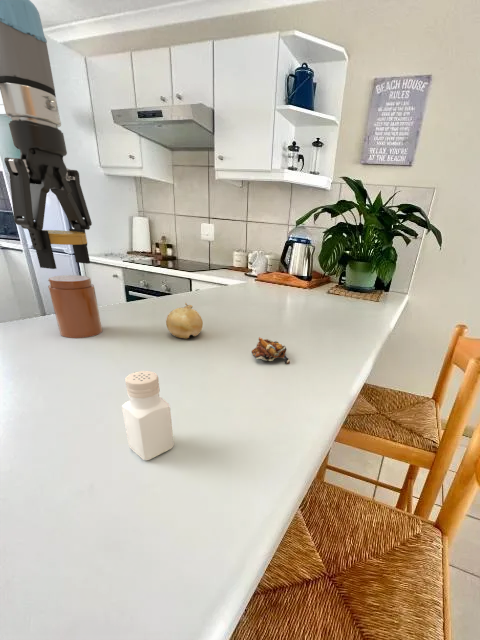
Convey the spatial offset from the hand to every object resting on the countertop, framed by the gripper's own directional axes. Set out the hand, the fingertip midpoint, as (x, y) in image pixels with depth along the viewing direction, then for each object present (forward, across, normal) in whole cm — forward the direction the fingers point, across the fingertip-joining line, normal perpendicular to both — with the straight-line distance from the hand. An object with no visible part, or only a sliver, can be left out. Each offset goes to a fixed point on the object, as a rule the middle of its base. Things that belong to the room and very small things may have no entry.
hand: (66, 265), depth 65 cm
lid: (-6, 0, 0) cm, 6 cm away
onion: (+14, +6, -22) cm, 26 cm away
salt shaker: (+14, -33, -35) cm, 50 cm away
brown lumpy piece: (+14, +1, -42) cm, 44 cm away
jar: (+14, 0, 0) cm, 14 cm away
